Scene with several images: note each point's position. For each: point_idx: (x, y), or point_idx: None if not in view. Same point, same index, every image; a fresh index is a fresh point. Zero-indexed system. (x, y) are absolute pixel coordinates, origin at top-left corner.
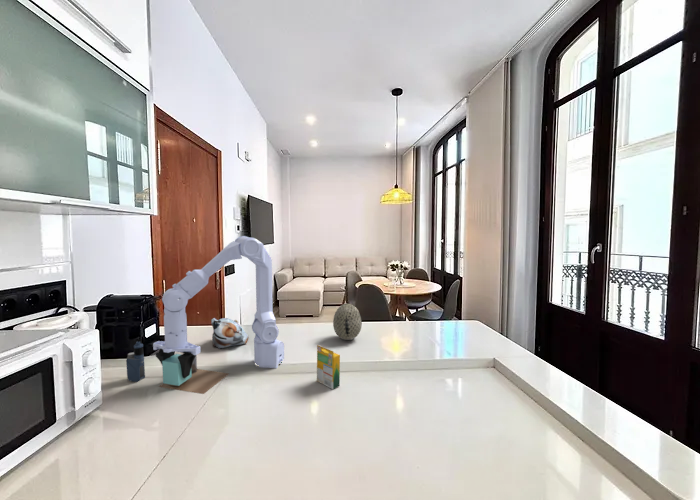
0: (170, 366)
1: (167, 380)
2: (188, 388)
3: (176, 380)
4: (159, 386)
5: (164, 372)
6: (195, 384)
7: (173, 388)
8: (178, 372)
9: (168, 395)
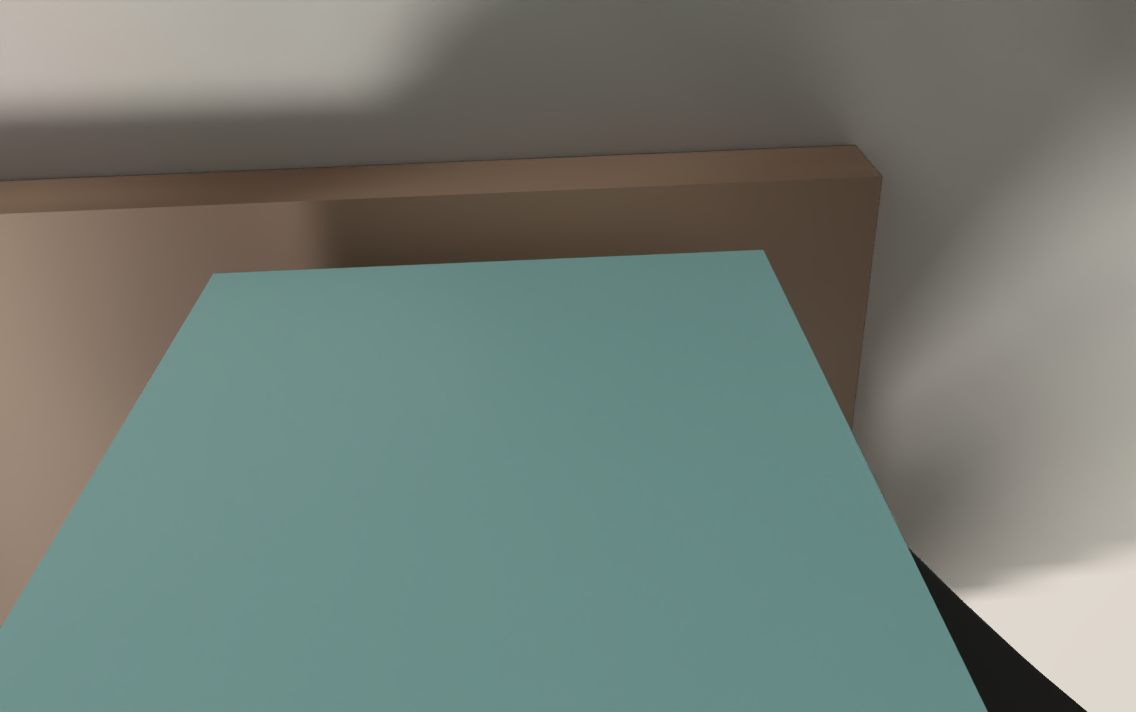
0: (428, 705)
1: (608, 304)
2: (29, 327)
3: (245, 346)
4: (851, 182)
5: (768, 451)
6: (51, 507)
7: (401, 216)
8: (70, 556)
9: (391, 5)
